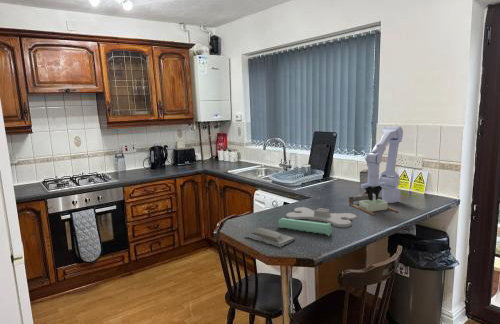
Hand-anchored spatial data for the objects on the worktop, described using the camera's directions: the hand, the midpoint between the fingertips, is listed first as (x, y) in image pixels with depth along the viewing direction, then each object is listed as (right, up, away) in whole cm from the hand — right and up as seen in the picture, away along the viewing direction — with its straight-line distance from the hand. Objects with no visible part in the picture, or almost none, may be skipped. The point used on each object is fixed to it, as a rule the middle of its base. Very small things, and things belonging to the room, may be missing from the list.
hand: (373, 199), depth 181 cm
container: (-42, -12, -26) cm, 51 cm away
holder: (-30, -9, -8) cm, 33 cm away
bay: (0, -5, +2) cm, 6 cm away
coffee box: (+7, -1, +31) cm, 31 cm away
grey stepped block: (-58, -14, -34) cm, 69 cm away
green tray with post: (0, -5, 0) cm, 5 cm away
